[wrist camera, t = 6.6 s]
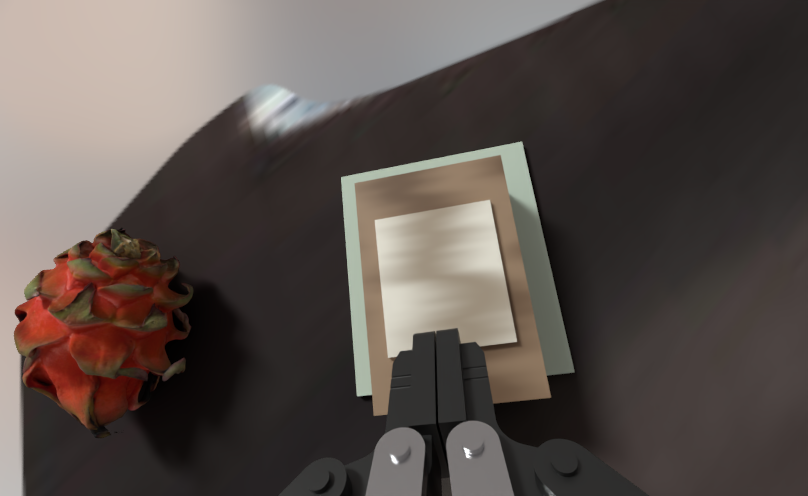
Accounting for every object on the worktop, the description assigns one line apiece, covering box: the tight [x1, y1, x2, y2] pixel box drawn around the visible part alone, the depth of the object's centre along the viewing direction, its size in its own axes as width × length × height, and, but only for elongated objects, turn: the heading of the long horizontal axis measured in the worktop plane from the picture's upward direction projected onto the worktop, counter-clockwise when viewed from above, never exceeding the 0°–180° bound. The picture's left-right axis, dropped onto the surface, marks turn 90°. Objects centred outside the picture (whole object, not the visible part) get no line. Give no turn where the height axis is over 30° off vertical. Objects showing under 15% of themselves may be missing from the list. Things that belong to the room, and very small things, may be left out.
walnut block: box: [354, 155, 551, 416], centre depth 21 cm, size 8×4×12 cm
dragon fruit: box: [14, 228, 193, 438], centre depth 24 cm, size 8×8×12 cm
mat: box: [341, 142, 575, 396], centre depth 24 cm, size 12×14×1 cm
